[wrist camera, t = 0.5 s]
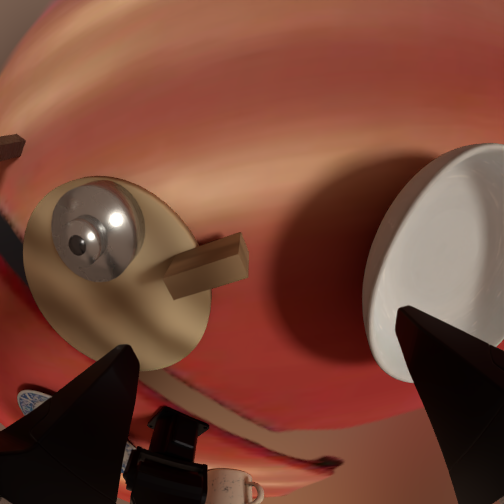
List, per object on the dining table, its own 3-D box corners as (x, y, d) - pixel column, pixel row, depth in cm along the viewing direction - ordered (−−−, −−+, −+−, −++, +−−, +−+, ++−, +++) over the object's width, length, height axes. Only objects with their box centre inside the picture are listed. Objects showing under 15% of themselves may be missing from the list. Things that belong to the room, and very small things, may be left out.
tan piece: (157, 387, 28) (146, 422, 23) (20, 295, 24) (-5, 319, 19) (271, 246, 22) (276, 278, 17) (72, 117, 17) (33, 118, 13)
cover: (123, 282, 21) (103, 311, 18) (59, 236, 20) (30, 256, 16) (161, 212, 19) (141, 231, 15) (87, 162, 18) (55, 171, 14)
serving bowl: (301, 319, 25) (314, 375, 19) (396, 90, 17) (448, 80, 11) (448, 349, 27) (473, 387, 21) (526, 196, 20) (568, 215, 13)
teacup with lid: (224, 485, 42) (222, 533, 31) (192, 471, 39) (185, 524, 28) (276, 474, 39) (279, 528, 28) (246, 460, 36) (245, 522, 25)
